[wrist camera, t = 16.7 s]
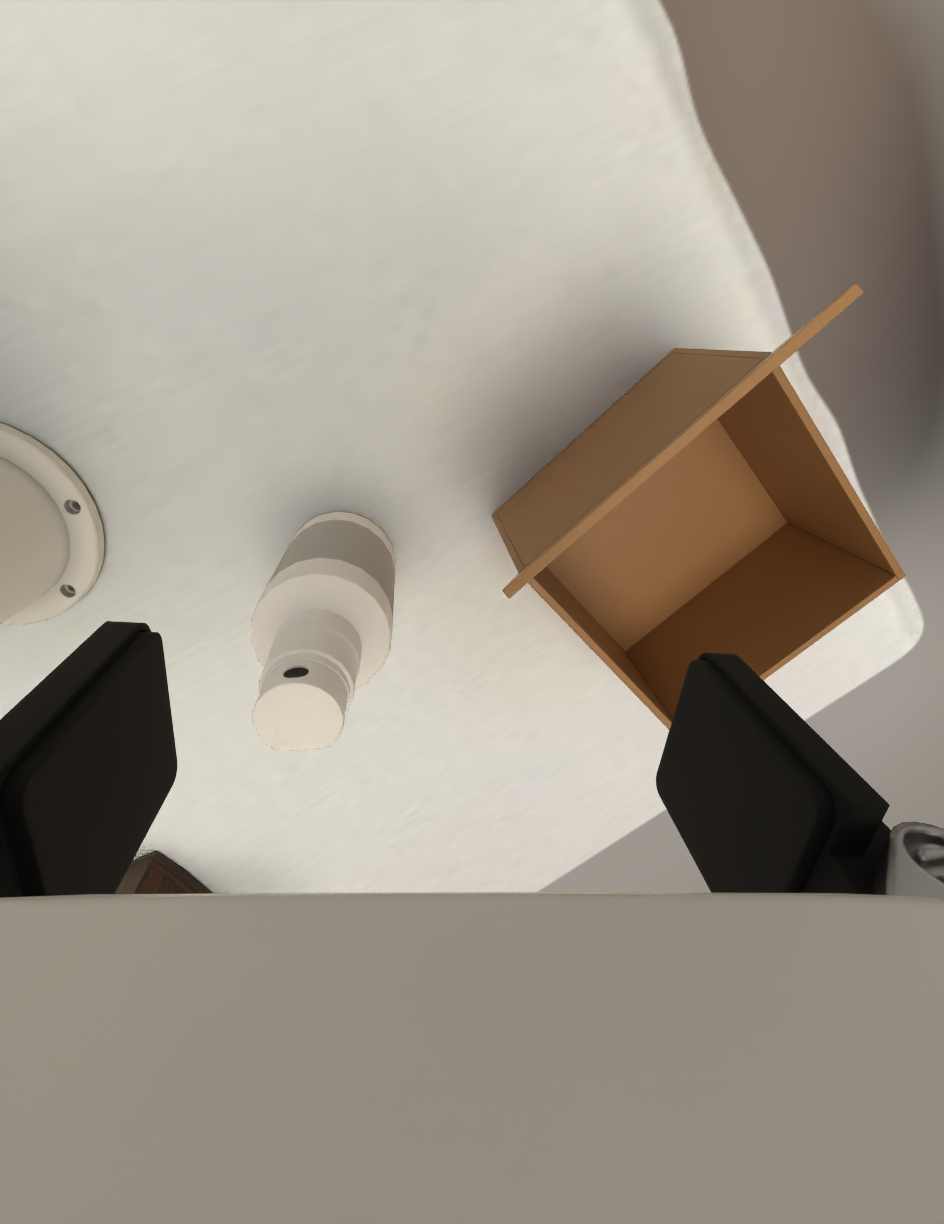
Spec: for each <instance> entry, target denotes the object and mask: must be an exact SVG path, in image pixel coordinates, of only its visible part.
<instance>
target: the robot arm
mask: <svg viewBox="0 0 944 1224" xmlns="http://www.w3.org/2000/svg"><path fill="white" fill-rule="evenodd" d="M76 502H77V503H78V504H79V505H80V507H79V506H78V505H77V504H76ZM104 546H105V541H104V534H103V527H102V523H101V520H100V517H99V514H98V511H97V508H96V505H95V503H94V502H93V500H92V498H91V496H90V495H89V493H88V491H87V489H86V487H85V486H84V485H83V483H82V482H81V481H80V480H79V478H78V477H77V476H76V475H75V473H74V472H73V471H72V469H71V468H70V467H69V466H68V465H67V464H66V463H64V462H63V461H62V460H61V459H60V458H59V457H58V456H57V455H56V454H55V453H54V452H53V451H51V450H50V449H48V448H47V447H45V446H44V445H42V444H41V443H40V442H38V441H37V440H35V439H34V438H32V437H31V436H28V435H26V434H24V433H22V432H20V431H18V430H16V429H14V428H12V427H10V426H8V425H5V424H1V423H0V625H24V624H32V623H36V622H40V621H44V620H48V619H50V618H52V617H55V616H57V615H59V614H61V613H63V612H65V611H66V610H68V609H69V608H70V607H72V606H73V605H74V604H76V603H77V602H78V601H79V600H80V599H81V598H82V597H83V596H84V595H85V594H86V593H88V592H89V591H90V589H91V587H92V586H93V584H94V583H95V581H96V579H97V578H98V576H99V573H100V569H101V566H102V563H103V559H104ZM176 772H177V756H176V748H175V740H174V732H173V724H172V716H171V708H170V700H169V692H168V684H167V676H166V668H165V659H164V651H163V643H162V638H161V636H160V634H159V633H158V632H151V630H150V628H149V626H148V625H147V624H146V623H131V622H111V621H107V622H106V623H104V624H103V625H102V626H101V627H99V628H98V629H97V630H96V631H95V632H94V633H93V634H92V635H91V636H90V637H89V638H88V639H87V640H86V641H84V642H83V643H82V644H81V645H80V646H79V647H78V648H77V649H76V650H75V651H74V652H73V653H72V654H71V655H69V656H68V657H67V658H66V659H65V660H64V661H63V662H62V663H61V664H60V665H59V666H58V667H57V668H55V669H54V670H53V671H52V672H51V673H50V674H49V675H48V676H47V677H46V678H45V679H44V680H43V681H42V682H40V683H39V684H38V685H37V686H36V687H35V688H34V689H33V690H32V691H31V692H30V693H29V694H28V695H26V696H25V697H24V698H23V699H22V700H21V701H20V702H19V703H18V704H17V705H16V706H15V707H14V708H13V709H11V710H10V711H9V712H8V713H7V714H6V715H5V716H4V717H3V718H2V719H1V720H0V1224H944V829H943V828H939V827H937V826H933V825H930V824H925V823H918V822H903V823H900V824H898V825H896V826H895V827H893V828H892V830H890V829H889V828H888V827H887V826H886V825H885V824H884V823H883V822H882V819H883V817H884V815H885V813H886V811H887V809H888V807H889V804H888V803H887V802H886V801H885V800H884V799H883V798H882V797H881V796H880V795H879V794H878V793H877V792H876V791H875V790H874V789H873V788H872V787H871V786H870V785H869V784H868V783H867V782H866V781H865V780H864V779H863V778H862V777H861V776H860V775H859V774H858V773H857V772H856V771H855V770H854V769H852V767H850V766H849V765H848V764H847V763H846V762H845V761H844V760H843V759H842V758H841V757H840V756H839V755H838V754H837V753H836V752H835V751H834V750H833V749H832V748H831V747H830V746H829V745H828V744H827V743H826V742H825V741H824V740H823V739H822V738H821V737H820V736H819V735H818V734H817V733H816V732H815V731H814V730H813V729H812V728H811V727H810V726H809V725H808V724H807V723H806V722H805V721H804V720H803V719H802V718H801V717H800V716H799V715H798V714H797V713H796V712H795V711H794V710H793V709H792V708H791V707H790V706H789V705H788V704H787V703H786V702H785V701H783V700H782V699H781V698H780V697H779V696H778V695H777V694H776V693H775V692H774V691H773V690H772V689H771V688H770V687H769V686H768V685H767V684H766V683H765V682H764V681H763V680H762V679H761V678H760V677H759V676H758V675H757V674H756V673H755V672H754V671H753V670H752V669H751V668H750V667H749V666H748V665H747V664H746V663H745V662H744V661H743V660H742V659H741V658H740V657H739V656H737V655H736V654H723V653H703V654H701V655H700V656H699V658H698V660H693V661H691V663H690V664H689V666H688V669H687V673H686V676H685V679H684V683H683V686H682V690H681V693H680V696H679V700H678V703H677V707H676V710H675V713H674V717H673V720H672V724H671V727H670V731H669V734H668V737H667V741H666V744H665V748H664V751H663V754H662V758H661V761H660V765H659V768H658V771H657V776H656V785H657V790H658V793H659V796H660V797H661V799H662V801H663V803H664V805H665V807H666V809H667V810H668V812H669V814H670V816H671V818H672V820H673V822H674V824H675V825H676V827H677V829H678V831H679V833H680V835H681V837H682V838H683V840H684V842H685V844H686V846H687V848H688V849H689V851H690V853H691V855H692V857H693V859H694V861H695V863H696V865H697V866H698V868H699V870H700V872H701V874H702V876H703V878H704V880H705V881H706V883H707V885H708V887H709V889H710V890H711V893H671V892H670V893H669V892H668V893H666V892H664V893H663V892H654V893H652V892H648V893H647V892H646V893H645V892H644V893H643V892H641V893H640V892H634V893H633V892H631V893H625V892H621V893H620V892H618V893H617V892H615V893H613V892H612V893H611V892H607V893H605V892H600V893H599V892H596V893H594V892H592V893H589V892H588V893H587V892H586V893H585V892H584V893H583V892H581V893H580V892H576V893H575V892H573V893H572V892H570V893H569V892H568V893H566V892H564V893H562V892H560V893H559V892H556V893H555V892H554V893H552V892H548V893H547V892H546V893H545V892H544V893H543V892H542V893H541V892H501V893H227V894H115V892H116V890H117V888H118V886H119V885H120V883H121V881H122V879H123V877H124V875H125V873H126V872H127V870H128V868H129V866H130V864H131V862H132V860H133V858H134V857H135V855H136V853H137V851H138V849H139V847H140V845H141V843H142V842H143V840H144V838H145V836H146V834H147V832H148V830H149V828H150V827H151V825H152V823H153V821H154V819H155V817H156V815H157V814H158V812H159V810H160V808H161V806H162V804H163V802H164V800H165V799H166V797H167V795H168V793H169V791H170V789H171V787H172V785H173V783H174V781H175V777H176Z"/></svg>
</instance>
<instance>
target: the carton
mask: <svg viewBox="0 0 944 1224" xmlns="http://www.w3.org/2000/svg"><path fill="white" fill-rule="evenodd" d="M771 353H772V352H753V351H730V350H707V349H683V348H675V349H674V350H673V351H672V352H670V353H669V354H668V355H667V356H666V357H665V358H664V359H663V360H662V361H661V362H659V363H658V364H657V365H656V366H655V367H654V368H653V369H652V370H651V371H650V372H648V373H647V374H646V375H645V376H644V377H643V378H642V379H641V380H640V381H639V382H638V383H636V384H635V385H634V386H633V387H632V388H631V389H630V390H629V391H628V392H627V393H625V394H624V395H623V396H622V397H621V398H620V399H619V400H618V401H617V402H616V403H614V404H613V405H612V406H611V407H610V408H609V409H608V410H607V411H606V412H605V413H604V414H602V415H601V416H600V417H599V418H598V419H597V420H596V421H595V422H594V423H593V424H591V425H590V426H589V427H588V428H587V429H586V430H585V431H584V432H583V433H582V434H580V435H579V436H578V437H577V438H576V439H575V440H574V441H573V442H572V443H571V444H569V445H568V446H567V447H566V448H565V449H564V450H563V451H562V452H561V453H560V454H559V455H557V456H556V457H555V458H554V459H553V460H552V461H551V462H550V463H549V464H548V465H546V466H545V467H544V468H543V469H542V470H541V471H540V472H539V473H538V474H537V475H535V476H534V477H533V478H532V479H531V480H530V481H529V482H528V483H527V484H526V485H524V486H523V487H522V488H521V489H520V490H519V491H518V492H517V493H516V494H515V495H514V496H512V497H511V498H510V499H509V500H508V501H507V502H506V503H505V504H504V505H503V506H501V507H500V508H499V509H498V510H497V511H496V512H495V513H494V514H493V515H492V518H493V520H494V522H495V524H496V526H497V528H498V531H499V533H500V535H501V537H502V539H503V541H504V543H505V545H506V547H507V550H508V552H509V554H510V556H511V558H512V560H513V562H514V564H515V566H516V569H517V571H518V573H520V572H521V571H522V570H523V569H524V568H525V567H527V566H528V565H529V564H530V563H531V562H532V561H533V560H535V559H536V558H537V557H538V556H539V555H540V554H542V553H543V552H544V551H545V550H546V549H547V548H548V547H550V546H551V545H552V544H553V543H554V542H555V541H556V540H558V539H559V538H560V537H561V536H562V535H563V534H564V533H566V532H567V531H568V530H569V529H570V528H571V527H573V526H574V525H575V524H576V523H577V522H578V521H579V520H581V519H582V518H583V517H584V516H585V515H586V514H587V513H589V512H590V511H591V510H592V509H593V508H594V507H595V506H597V505H598V504H599V503H600V502H601V501H602V500H603V499H605V498H606V497H607V496H608V495H609V494H610V493H612V492H613V491H614V490H615V489H616V488H617V487H618V486H620V485H621V484H622V483H623V482H624V481H625V480H626V479H628V478H629V477H630V476H631V475H632V474H633V473H634V472H636V471H637V470H638V469H639V468H640V467H641V466H643V465H644V464H645V463H646V462H647V461H648V460H649V459H651V458H652V457H653V456H654V455H655V454H656V453H657V452H659V451H660V450H661V449H662V448H663V447H664V446H665V445H667V444H668V443H669V442H670V441H671V440H672V439H674V438H675V437H676V436H677V435H678V434H679V433H680V432H682V431H683V430H684V429H685V428H686V427H687V426H688V425H690V424H691V423H692V422H693V421H694V420H695V419H696V418H698V417H699V416H700V415H701V414H702V413H703V412H704V411H706V410H707V409H708V408H709V407H710V406H711V405H713V404H714V403H715V402H716V401H717V400H718V399H719V398H721V397H722V396H723V395H724V394H725V393H726V392H727V391H729V390H730V389H731V388H732V387H733V386H734V385H735V384H737V383H738V382H739V381H740V380H741V379H742V378H744V377H745V376H746V375H747V374H748V373H749V372H750V371H752V370H753V369H754V368H755V367H756V366H757V365H758V364H760V363H761V362H762V361H763V360H764V359H765V358H766V357H768V356H769V355H770V354H771ZM904 577H905V574H904V572H903V571H902V569H901V567H900V566H899V564H898V562H897V561H896V559H895V557H894V556H893V554H892V552H891V551H890V549H889V547H888V546H887V544H886V542H885V541H884V539H883V537H882V536H881V534H880V532H879V531H878V529H877V527H876V526H875V524H874V522H873V521H872V519H871V517H870V516H869V514H868V512H867V511H866V509H865V507H864V506H863V504H862V502H861V501H860V499H859V497H858V496H857V494H856V492H855V491H854V489H853V487H852V486H851V484H850V482H849V480H848V479H847V477H846V475H845V474H844V472H843V470H842V469H841V467H840V465H839V464H838V462H837V460H836V459H835V457H834V455H833V454H832V452H831V450H830V449H829V447H828V445H827V444H826V442H825V440H824V439H823V437H822V435H821V434H820V432H819V430H818V429H817V427H816V425H815V424H814V422H813V420H812V419H811V417H810V415H809V414H808V412H807V410H806V409H805V407H804V405H803V404H802V402H801V400H800V399H799V397H798V395H797V394H796V392H795V390H794V389H793V387H792V385H791V384H790V382H789V380H788V379H787V377H786V375H785V374H784V372H783V370H782V369H781V367H780V365H779V366H778V367H777V368H776V369H775V370H774V371H772V372H771V373H770V374H769V375H768V376H767V377H765V378H764V379H763V380H762V381H761V382H760V383H758V384H757V385H756V386H755V387H754V388H753V389H751V390H750V391H749V392H748V393H747V394H746V395H745V396H743V397H742V398H741V399H740V400H739V401H738V402H736V403H735V404H734V405H733V406H732V407H731V408H729V409H728V410H727V411H726V412H725V413H724V414H723V415H721V416H720V417H719V418H718V419H717V420H716V421H714V422H713V423H712V424H711V425H710V426H709V427H707V428H706V429H705V430H704V431H703V432H702V433H701V434H699V435H698V436H697V437H696V438H695V439H694V440H692V441H691V442H690V443H689V444H688V445H687V446H685V447H684V448H683V449H682V450H681V451H680V452H678V453H677V454H676V455H675V456H674V457H673V458H672V459H670V460H669V461H668V462H667V463H666V464H665V465H663V466H662V467H661V468H660V469H659V470H658V471H656V472H655V473H654V474H653V475H652V476H651V477H650V478H648V479H647V480H646V481H645V482H644V483H643V484H641V485H640V486H639V487H638V488H637V489H636V490H634V491H633V492H632V493H631V494H630V495H629V496H628V497H626V498H625V499H624V500H623V501H622V502H621V503H619V504H618V505H617V506H616V507H615V508H614V509H612V510H611V511H610V512H609V513H608V514H607V515H605V516H604V517H603V518H602V519H601V520H600V521H599V522H597V523H596V524H595V525H594V526H593V527H592V528H590V529H589V530H588V531H587V532H586V533H585V534H583V535H582V536H581V537H580V538H579V539H578V540H577V541H575V542H574V543H573V544H572V545H571V546H570V547H568V548H567V549H566V550H565V551H564V552H563V553H561V554H560V555H559V556H558V557H557V558H556V559H555V560H553V561H552V562H551V563H550V564H549V565H548V566H546V567H545V568H544V569H543V570H542V571H541V572H539V573H538V574H537V575H536V576H535V577H534V578H532V579H531V580H530V581H529V582H528V583H529V584H530V585H531V587H532V588H533V589H534V590H535V591H536V592H537V593H538V594H539V595H540V596H541V597H542V598H543V599H544V600H545V601H546V602H547V603H548V604H549V605H550V606H551V607H552V608H553V609H554V610H555V612H556V613H557V614H558V615H559V616H560V617H561V618H562V619H563V620H564V621H565V622H566V623H567V624H568V625H569V626H570V627H571V628H572V629H573V630H574V631H575V632H576V633H577V634H578V635H579V636H580V638H581V639H582V640H583V641H584V642H585V643H586V644H587V645H588V646H589V647H590V648H591V649H592V650H593V651H594V652H595V653H596V654H597V655H598V656H599V657H600V658H601V659H602V660H603V661H604V663H605V664H606V665H607V666H608V667H609V668H610V669H611V670H612V671H613V672H614V673H615V674H616V675H617V676H618V677H619V678H620V679H621V680H622V681H623V682H624V683H625V684H626V685H627V686H628V688H629V689H630V690H631V691H632V692H633V693H634V694H635V695H636V696H637V697H638V698H639V699H640V700H641V701H642V702H643V703H644V704H645V705H646V706H647V707H648V708H649V709H650V710H651V711H652V712H653V714H654V715H655V716H656V717H657V718H658V719H659V720H660V721H661V722H662V723H663V724H664V725H665V726H666V727H667V728H668V729H669V730H670V727H671V724H672V720H673V717H674V713H675V710H676V707H677V703H678V700H679V696H680V693H681V690H682V686H683V683H684V679H685V676H686V673H687V669H688V666H689V664H690V663H691V661H693V660H698V658H699V656H700V655H701V654H703V653H723V654H736V655H737V656H739V657H740V658H741V659H742V660H743V661H744V662H745V663H746V664H747V665H748V666H749V667H750V668H751V669H752V670H753V671H754V672H755V673H756V674H757V675H758V676H759V677H760V678H761V679H762V680H764V679H766V678H767V677H768V676H770V675H771V674H773V673H774V672H775V671H777V670H778V669H779V668H781V667H782V666H783V665H785V664H786V663H788V662H789V661H790V660H792V659H793V658H794V657H796V656H797V655H798V654H800V653H801V652H803V651H804V650H805V649H807V648H808V647H809V646H811V645H812V644H813V643H815V642H816V641H818V640H819V639H820V638H822V637H823V636H824V635H826V634H827V633H829V632H830V631H831V630H833V629H834V628H835V627H837V626H838V625H839V624H841V623H842V622H844V621H845V620H846V619H848V618H849V617H850V616H852V615H853V614H854V613H856V612H857V611H859V610H860V609H861V608H863V607H864V606H865V605H867V604H868V603H869V602H871V601H872V600H874V599H875V598H876V597H878V596H879V595H880V594H882V593H883V592H884V591H886V590H887V589H889V588H890V587H891V586H893V585H894V584H895V583H897V582H898V581H899V580H901V579H902V578H904Z"/></svg>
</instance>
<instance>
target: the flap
mask: <svg viewBox="0 0 944 1224" xmlns="http://www.w3.org/2000/svg"><path fill="white" fill-rule="evenodd" d="M862 293H863V291H862V290H861V289H860V288H859V286H858V285H857V284H854V285H852V286H851V287H850V288H849V289H847V290H846V291H845V292H844V293H843V294H842V295H840V296H839V297H838V298H837V299H835V300H834V301H833V302H832V303H831V304H830V305H828V306H827V307H826V308H825V309H824V310H822V311H821V312H820V313H819V314H818V315H817V316H815V317H814V318H813V319H812V320H810V321H809V322H808V323H807V324H806V325H804V326H803V327H802V328H801V329H800V330H798V331H797V332H796V333H795V334H794V335H792V336H791V337H790V338H789V339H788V340H786V341H785V342H784V343H783V344H782V345H780V346H779V347H778V348H777V349H776V350H775V351H773V352H772V353H771V354H770V355H769V356H768V357H766V358H765V359H764V360H763V361H762V362H761V363H760V364H758V365H757V366H756V367H755V368H754V369H753V370H752V371H750V372H749V373H748V374H747V375H746V376H745V377H744V378H742V379H741V380H740V381H739V382H738V383H737V384H735V385H734V386H733V387H732V388H731V389H730V390H729V391H727V392H726V393H725V394H724V395H723V396H722V397H721V398H719V399H718V400H717V401H716V402H715V403H714V404H713V405H711V406H710V407H709V408H708V409H707V410H706V411H704V412H703V413H702V414H701V415H700V416H699V417H698V418H696V419H695V420H694V421H693V422H692V423H691V424H690V425H688V426H687V427H686V428H685V429H684V430H683V431H682V432H680V433H679V434H678V435H677V436H676V437H675V438H674V439H672V440H671V441H670V442H669V443H668V444H667V445H665V446H664V447H663V448H662V449H661V450H660V451H659V452H657V453H656V454H655V455H654V456H653V457H652V458H651V459H649V460H648V461H647V462H646V463H645V464H644V465H643V466H641V467H640V468H639V469H638V470H637V471H636V472H634V473H633V474H632V475H631V476H630V477H629V478H628V479H626V480H625V481H624V482H623V483H622V484H621V485H620V486H618V487H617V488H616V489H615V490H614V491H613V492H612V493H610V494H609V495H608V496H607V497H606V498H605V499H603V500H602V501H601V502H600V503H599V504H598V505H597V506H595V507H594V508H593V509H592V510H591V511H590V512H589V513H587V514H586V515H585V516H584V517H583V518H582V519H581V520H579V521H578V522H577V523H576V524H575V525H574V526H573V527H571V528H570V529H569V530H568V531H567V532H566V533H564V534H563V535H562V536H561V537H560V538H559V539H558V540H556V541H555V542H554V543H553V544H552V545H551V546H550V547H548V548H547V549H546V550H545V551H544V552H543V553H542V554H540V555H539V556H538V557H537V558H536V559H535V560H533V561H532V562H531V563H530V564H529V565H528V566H527V567H525V568H524V569H523V570H522V571H521V572H520V573H519V574H518V575H517V576H516V577H515V578H514V579H513V580H512V581H511V582H510V583H509V584H508V585H507V586H506V587H505V588H504V589H503V592H504V593H505V594H506V596H507V597H508V598H510V597H512V596H513V595H514V594H515V593H516V592H517V591H519V590H520V589H521V588H522V587H523V586H524V585H526V584H527V583H528V582H529V581H530V580H531V579H532V578H534V577H535V576H536V575H537V574H538V573H539V572H541V571H542V570H543V569H544V568H545V567H546V566H548V565H549V564H550V563H551V562H552V561H553V560H555V559H556V558H557V557H558V556H559V555H560V554H561V553H563V552H564V551H565V550H566V549H567V548H568V547H570V546H571V545H572V544H573V543H574V542H575V541H577V540H578V539H579V538H580V537H581V536H582V535H583V534H585V533H586V532H587V531H588V530H589V529H590V528H592V527H593V526H594V525H595V524H596V523H597V522H599V521H600V520H601V519H602V518H603V517H604V516H605V515H607V514H608V513H609V512H610V511H611V510H612V509H614V508H615V507H616V506H617V505H618V504H619V503H621V502H622V501H623V500H624V499H625V498H626V497H628V496H629V495H630V494H631V493H632V492H633V491H634V490H636V489H637V488H638V487H639V486H640V485H641V484H643V483H644V482H645V481H646V480H647V479H648V478H650V477H651V476H652V475H653V474H654V473H655V472H656V471H658V470H659V469H660V468H661V467H662V466H663V465H665V464H666V463H667V462H668V461H669V460H670V459H672V458H673V457H674V456H675V455H676V454H677V453H678V452H680V451H681V450H682V449H683V448H684V447H685V446H687V445H688V444H689V443H690V442H691V441H692V440H694V439H695V438H696V437H697V436H698V435H699V434H701V433H702V432H703V431H704V430H705V429H706V428H707V427H709V426H710V425H711V424H712V423H713V422H714V421H716V420H717V419H718V418H719V417H720V416H721V415H723V414H724V413H725V412H726V411H727V410H728V409H729V408H731V407H732V406H733V405H734V404H735V403H736V402H738V401H739V400H740V399H741V398H742V397H743V396H745V395H746V394H747V393H748V392H749V391H750V390H751V389H753V388H754V387H755V386H756V385H757V384H758V383H760V382H761V381H762V380H763V379H764V378H765V377H767V376H768V375H769V374H770V373H771V372H772V371H774V370H775V369H776V368H777V367H778V366H779V365H780V364H782V363H783V362H784V361H785V360H786V359H787V358H789V357H790V356H791V355H792V354H793V353H794V352H796V351H797V350H798V349H799V348H800V347H801V346H802V345H804V344H805V343H806V342H807V341H808V340H809V339H811V338H812V337H813V336H814V335H815V334H816V333H818V332H819V331H820V330H821V329H822V328H823V327H824V326H826V325H827V324H828V323H829V322H830V321H831V320H833V319H834V318H835V317H836V316H837V315H838V314H840V313H841V312H842V311H843V310H844V309H845V308H846V307H847V306H849V305H850V304H851V303H852V302H853V301H855V300H856V299H857V298H858V297H859V296H860V295H862Z"/></svg>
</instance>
